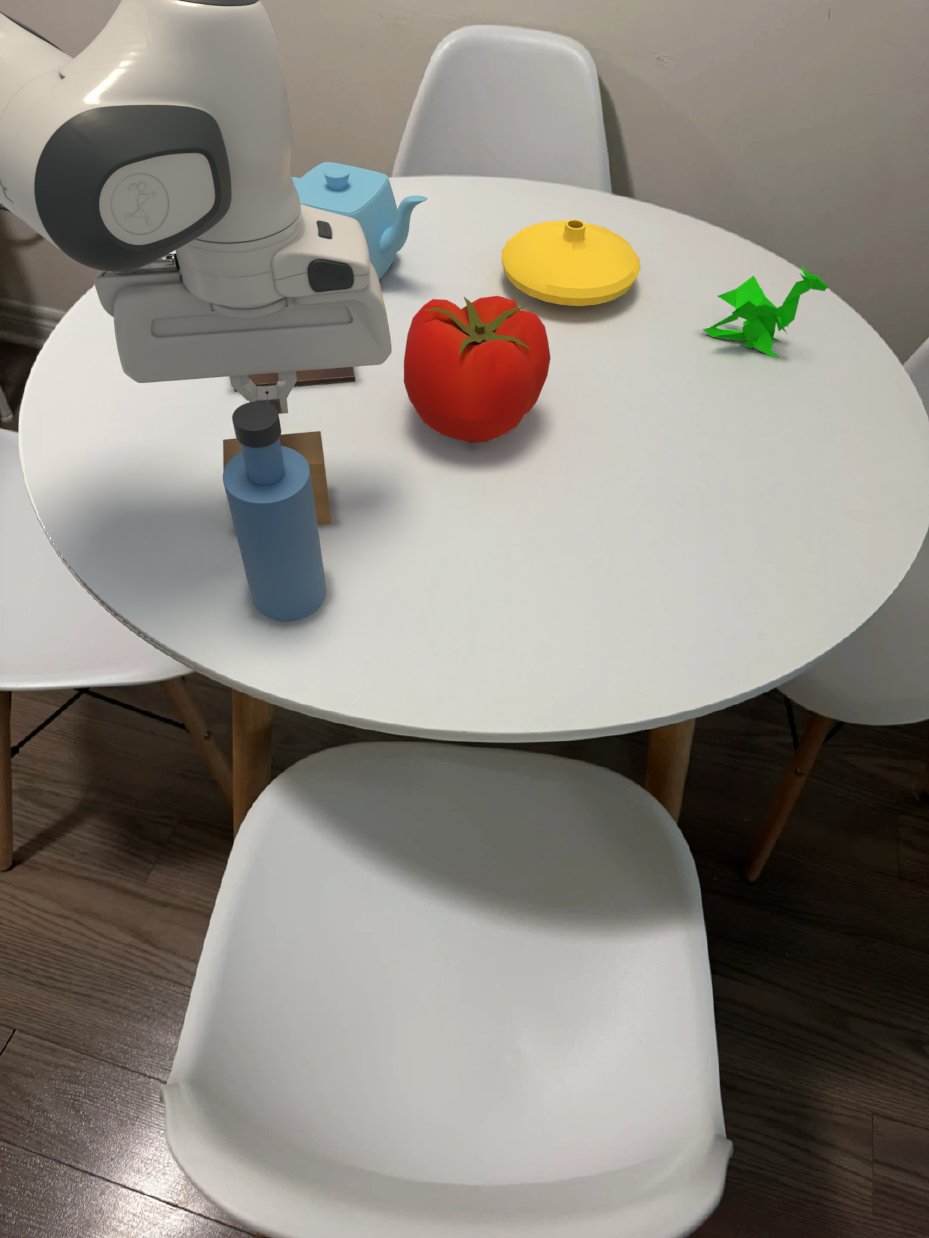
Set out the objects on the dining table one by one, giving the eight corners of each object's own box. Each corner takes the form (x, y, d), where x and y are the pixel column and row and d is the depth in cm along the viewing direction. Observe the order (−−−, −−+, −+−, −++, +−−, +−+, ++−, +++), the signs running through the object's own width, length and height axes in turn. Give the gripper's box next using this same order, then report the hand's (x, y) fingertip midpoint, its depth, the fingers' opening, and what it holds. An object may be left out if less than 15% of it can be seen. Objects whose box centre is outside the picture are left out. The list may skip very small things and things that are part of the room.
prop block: (238, 533, 75) (223, 472, 70) (237, 500, 78) (222, 439, 72) (331, 523, 76) (324, 462, 71) (328, 492, 79) (320, 430, 73)
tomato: (401, 461, 82) (397, 353, 72) (412, 368, 90) (410, 262, 81) (543, 468, 82) (558, 361, 72) (540, 375, 90) (553, 269, 81)
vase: (479, 259, 104) (483, 199, 99) (600, 240, 108) (609, 182, 102) (530, 333, 95) (536, 272, 89) (659, 310, 99) (673, 250, 93)
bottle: (257, 630, 72) (224, 592, 55) (241, 480, 74) (204, 396, 56) (330, 622, 73) (321, 581, 55) (313, 473, 75) (298, 388, 57)
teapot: (406, 320, 96) (403, 217, 87) (259, 283, 99) (242, 180, 90) (447, 264, 103) (449, 164, 94) (309, 232, 107) (298, 133, 98)
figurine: (814, 368, 92) (829, 285, 85) (697, 362, 95) (702, 283, 88) (818, 335, 95) (832, 253, 89) (704, 331, 99) (710, 252, 92)
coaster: (234, 391, 87) (233, 386, 87) (232, 322, 94) (231, 317, 94) (355, 381, 89) (354, 376, 88) (344, 314, 96) (343, 309, 96)
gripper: (82, 285, 58) (137, 447, 69) (391, 265, 60) (396, 424, 71) (90, 236, 62) (141, 396, 72) (380, 219, 64) (387, 377, 75)
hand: (270, 410), depth 72 cm, fingers closed
